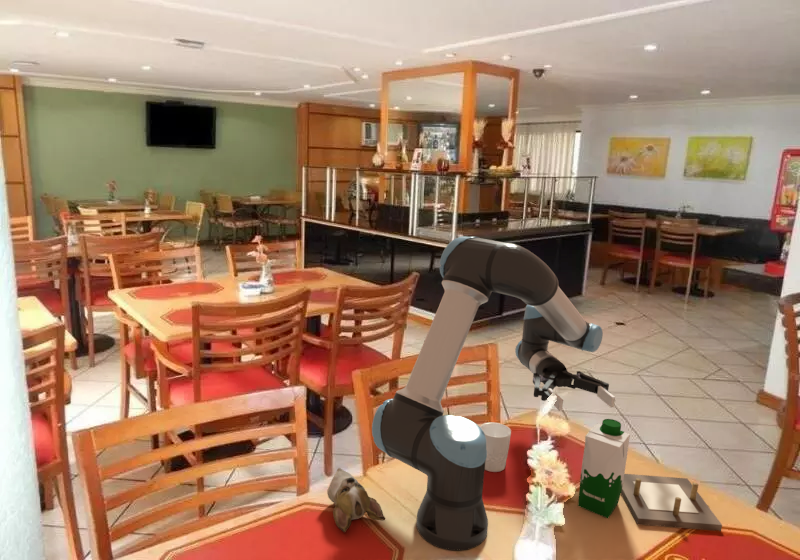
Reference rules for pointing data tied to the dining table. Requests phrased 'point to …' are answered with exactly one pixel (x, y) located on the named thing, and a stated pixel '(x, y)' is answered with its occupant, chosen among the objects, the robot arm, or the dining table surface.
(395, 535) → the dining table surface
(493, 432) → the white cup
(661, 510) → the pin base plate
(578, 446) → the dining table surface
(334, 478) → the ceramic sculpture
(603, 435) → the soya milk
